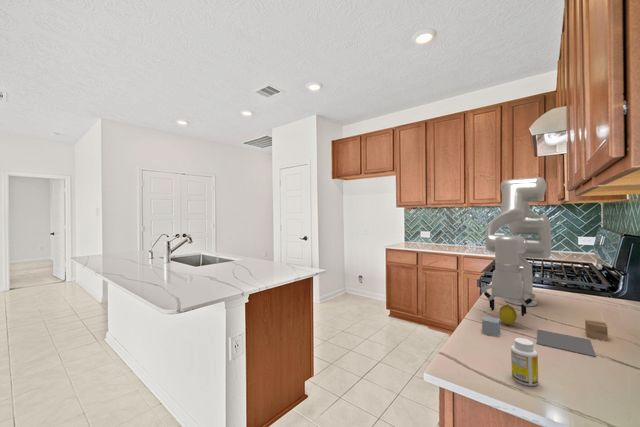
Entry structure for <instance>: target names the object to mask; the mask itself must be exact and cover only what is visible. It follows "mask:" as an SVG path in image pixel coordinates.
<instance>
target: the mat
mask: <svg viewBox="0 0 640 427" xmlns="http://www.w3.org/2000/svg"><path fill="white" fill-rule="evenodd" d="M536 345H540V346H544V347H548V348H551V349H557V350H562V351H565V352H570V353H576V354H579V355H580V354H581V355H584V356H588V357H592V358H593V357H594V358H597V355H596V352H595V350H594V346H593V344H592V341H591V338H583V337H580V336H574V335H567V334H564V333H558V332H553V331H548V330H543V329H537V332H536Z"/></svg>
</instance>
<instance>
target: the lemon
mask: <svg viewBox="0 0 640 427" xmlns="http://www.w3.org/2000/svg"><path fill="white" fill-rule="evenodd" d="M498 314H499V315H498V316H499V319H500V321H502V323H503V324H504V323H505V324H506V326H510V325H512V324H514V323H516V321H517V313H516V310H515V308H514V307H512V306H511V305H510V304H504V305H503V306H501V307H500V308H499V313H498Z"/></svg>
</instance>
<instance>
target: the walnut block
mask: <svg viewBox="0 0 640 427" xmlns="http://www.w3.org/2000/svg"><path fill="white" fill-rule="evenodd" d="M584 327H585V328H584V330H585V332H584V333H585V335H586V339H593V340H597V339H598V341H602V340H604V341H603V342H607V341H608V342H609V340H608V336H609V335H608V332H609V331H608V330H609V329H608V325H607V324H606V322H605V321H599V320H593V319H588V318H585V319H584Z"/></svg>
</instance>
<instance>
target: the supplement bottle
mask: <svg viewBox="0 0 640 427" xmlns="http://www.w3.org/2000/svg"><path fill="white" fill-rule="evenodd" d="M510 355H511V356H510V357H511V358H510V360H511V376H512V378H513V380H514V381H516V382H518V383H519V384H521V385H523V386H529V387H534V386H537V385H538V384H539V363H538V362H539V360H538V352H537V350H536V349H535V347H534V342H533V341H531V340H529V339H527V338H523V337H516V338H515V339H514V344H512V345H511V347H510Z"/></svg>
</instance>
